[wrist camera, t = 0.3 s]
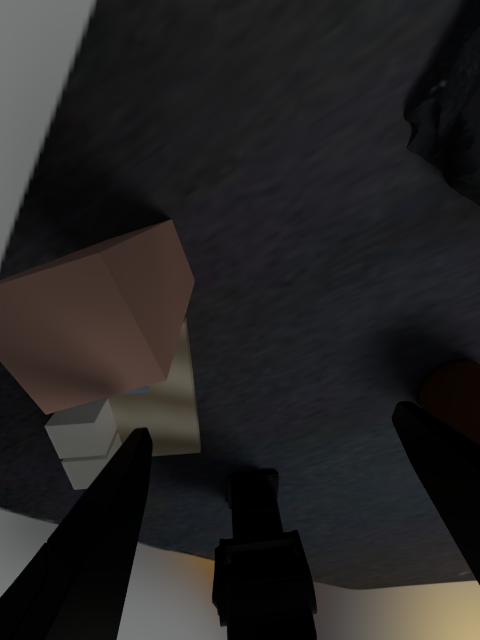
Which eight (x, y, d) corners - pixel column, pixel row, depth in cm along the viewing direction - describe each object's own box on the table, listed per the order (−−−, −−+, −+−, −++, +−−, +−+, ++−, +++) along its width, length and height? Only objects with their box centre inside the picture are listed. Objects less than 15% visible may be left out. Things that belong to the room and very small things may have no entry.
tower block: (194, 280, 22) (166, 380, 10) (138, 297, 22) (45, 414, 10) (171, 219, 19) (99, 252, 8) (109, 238, 20) (-52, 300, 8)
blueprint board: (200, 443, 30) (200, 454, 28) (93, 451, 29) (87, 463, 28) (186, 316, 23) (184, 323, 22) (44, 323, 22) (33, 331, 21)
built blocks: (126, 458, 28) (116, 486, 25) (88, 461, 28) (74, 489, 25) (107, 398, 24) (94, 422, 22) (63, 400, 24) (44, 426, 22)
